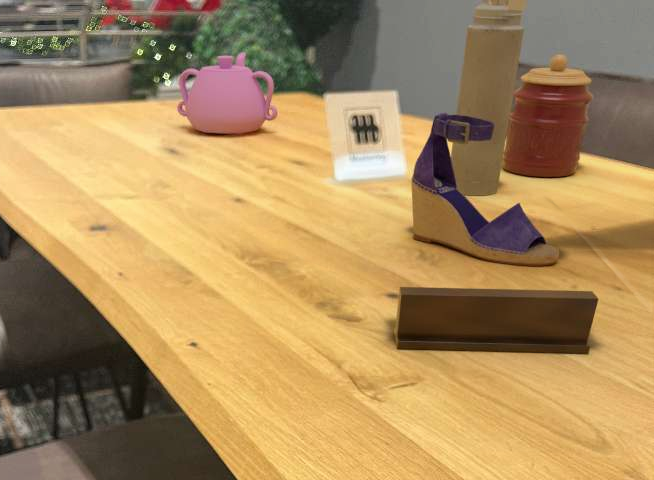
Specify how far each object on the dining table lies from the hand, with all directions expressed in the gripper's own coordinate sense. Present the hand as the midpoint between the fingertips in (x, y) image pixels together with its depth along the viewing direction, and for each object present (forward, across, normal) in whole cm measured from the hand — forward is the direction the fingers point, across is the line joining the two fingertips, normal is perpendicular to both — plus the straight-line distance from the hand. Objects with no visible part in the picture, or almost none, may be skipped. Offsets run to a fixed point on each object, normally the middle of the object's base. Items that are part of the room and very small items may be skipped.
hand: (505, 7), depth 83 cm
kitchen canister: (+26, +45, -20) cm, 56 cm away
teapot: (+26, +81, +38) cm, 93 cm away
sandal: (+26, 0, -1) cm, 26 cm away
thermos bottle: (+26, +30, -6) cm, 41 cm away
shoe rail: (+26, -30, +3) cm, 40 cm away
